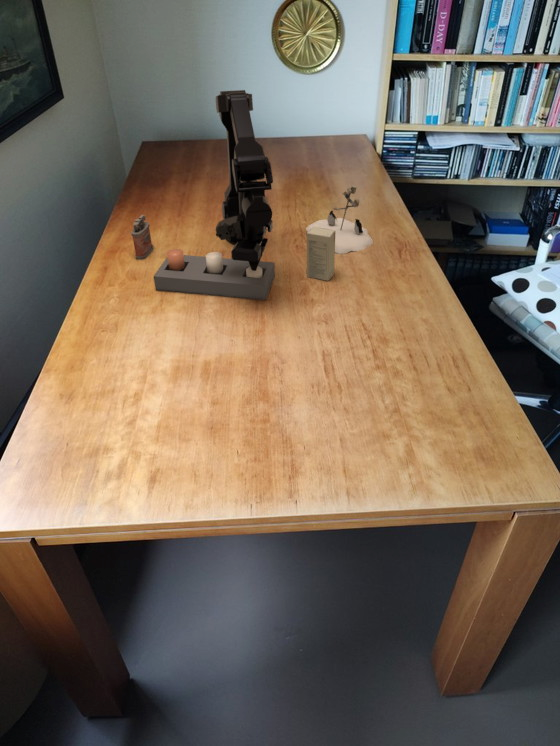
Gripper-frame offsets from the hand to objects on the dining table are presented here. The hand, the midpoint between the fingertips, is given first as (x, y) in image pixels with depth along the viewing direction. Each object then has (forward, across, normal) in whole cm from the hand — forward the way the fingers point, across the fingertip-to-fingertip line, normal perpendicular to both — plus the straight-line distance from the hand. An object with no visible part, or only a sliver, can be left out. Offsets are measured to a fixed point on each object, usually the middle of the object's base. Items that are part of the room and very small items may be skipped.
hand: (254, 269), depth 135 cm
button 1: (+1, 0, -10) cm, 10 cm away
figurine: (+5, -31, +18) cm, 36 cm away
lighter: (+5, -13, -34) cm, 37 cm away
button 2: (+4, 0, 0) cm, 4 cm away
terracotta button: (+1, 0, -20) cm, 20 cm away
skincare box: (+5, -8, +16) cm, 18 cm away
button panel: (+5, 0, -10) cm, 11 cm away
